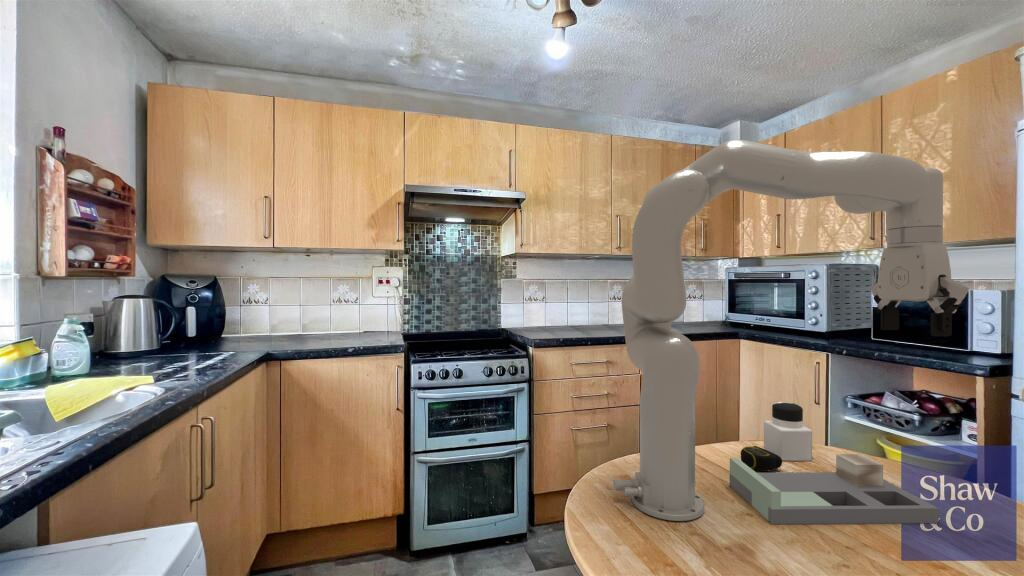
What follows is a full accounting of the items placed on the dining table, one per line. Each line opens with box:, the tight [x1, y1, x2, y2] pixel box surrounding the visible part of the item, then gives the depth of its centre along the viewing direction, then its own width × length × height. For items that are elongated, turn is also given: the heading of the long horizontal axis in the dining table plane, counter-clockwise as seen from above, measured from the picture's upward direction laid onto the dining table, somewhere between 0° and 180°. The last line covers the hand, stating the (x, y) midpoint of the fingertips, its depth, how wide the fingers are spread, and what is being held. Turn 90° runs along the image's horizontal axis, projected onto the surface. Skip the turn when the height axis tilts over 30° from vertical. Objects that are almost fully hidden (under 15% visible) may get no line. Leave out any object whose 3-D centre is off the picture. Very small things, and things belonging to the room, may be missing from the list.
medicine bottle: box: [763, 401, 813, 462], centre depth 102 cm, size 7×7×12 cm
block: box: [835, 453, 884, 486], centre depth 84 cm, size 5×5×4 cm
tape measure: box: [740, 445, 783, 472], centre depth 96 cm, size 7×7×4 cm
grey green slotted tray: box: [729, 457, 940, 525], centre depth 80 cm, size 28×14×6 cm, turn 90°
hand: (913, 332), depth 80 cm, fingers open, 9 cm apart
